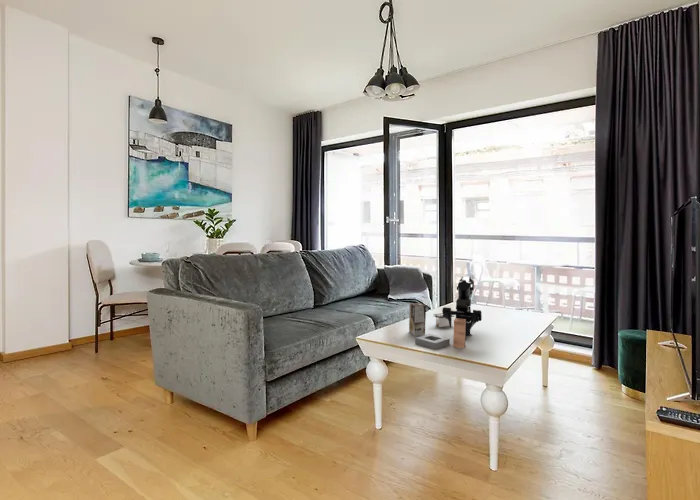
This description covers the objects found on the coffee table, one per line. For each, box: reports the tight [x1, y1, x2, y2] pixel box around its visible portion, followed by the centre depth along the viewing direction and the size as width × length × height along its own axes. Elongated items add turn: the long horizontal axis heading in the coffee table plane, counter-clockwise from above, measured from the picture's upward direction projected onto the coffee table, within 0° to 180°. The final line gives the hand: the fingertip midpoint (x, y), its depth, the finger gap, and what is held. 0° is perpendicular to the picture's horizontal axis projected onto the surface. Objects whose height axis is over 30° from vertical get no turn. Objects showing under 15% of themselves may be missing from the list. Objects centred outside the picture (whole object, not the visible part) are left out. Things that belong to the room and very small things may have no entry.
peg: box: [452, 317, 466, 349], centre depth 193 cm, size 5×5×13 cm
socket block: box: [414, 333, 451, 350], centre depth 196 cm, size 12×12×3 cm
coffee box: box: [408, 302, 427, 337], centre depth 215 cm, size 9×6×16 cm
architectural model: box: [433, 312, 455, 328], centre depth 234 cm, size 20×25×10 cm
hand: (460, 328), depth 194 cm, fingers open, 9 cm apart
